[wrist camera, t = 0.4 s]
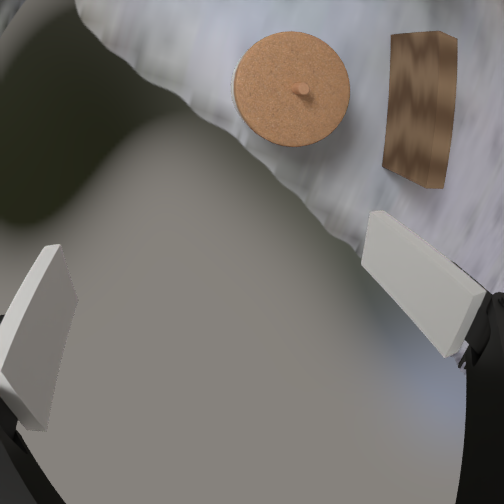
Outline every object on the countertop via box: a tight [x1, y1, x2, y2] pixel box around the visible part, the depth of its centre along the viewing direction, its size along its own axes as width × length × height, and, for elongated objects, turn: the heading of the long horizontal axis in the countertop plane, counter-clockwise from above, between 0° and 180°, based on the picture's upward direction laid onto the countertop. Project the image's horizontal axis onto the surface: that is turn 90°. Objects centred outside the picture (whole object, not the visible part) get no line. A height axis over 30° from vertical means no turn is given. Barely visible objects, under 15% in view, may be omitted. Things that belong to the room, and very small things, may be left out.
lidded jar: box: [231, 31, 350, 147], centre depth 28 cm, size 11×11×9 cm
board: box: [382, 31, 457, 189], centre depth 31 cm, size 18×3×9 cm, turn 179°
